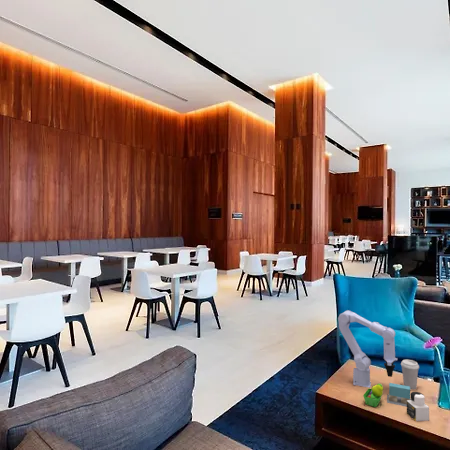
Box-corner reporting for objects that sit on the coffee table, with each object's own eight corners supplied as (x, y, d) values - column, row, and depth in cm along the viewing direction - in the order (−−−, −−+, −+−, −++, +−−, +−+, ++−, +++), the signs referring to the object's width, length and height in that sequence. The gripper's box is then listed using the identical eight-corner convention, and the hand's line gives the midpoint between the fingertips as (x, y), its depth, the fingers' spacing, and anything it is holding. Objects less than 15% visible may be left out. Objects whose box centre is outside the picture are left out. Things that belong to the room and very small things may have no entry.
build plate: (386, 403, 180) (386, 402, 180) (387, 395, 189) (387, 394, 189) (412, 408, 175) (412, 407, 175) (411, 400, 184) (411, 399, 184)
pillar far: (401, 402, 180) (401, 397, 180) (401, 399, 183) (401, 394, 183) (409, 404, 178) (409, 399, 178) (409, 401, 181) (409, 395, 181)
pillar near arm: (388, 400, 182) (388, 394, 182) (389, 397, 186) (389, 391, 186) (397, 402, 180) (397, 396, 180) (397, 398, 184) (397, 393, 184)
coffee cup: (422, 392, 192) (422, 366, 192) (404, 390, 194) (404, 365, 194) (415, 384, 202) (415, 359, 202) (398, 383, 203) (398, 358, 203)
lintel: (389, 394, 182) (389, 385, 182) (389, 391, 186) (389, 382, 186) (410, 399, 178) (410, 389, 178) (409, 395, 181) (409, 386, 181)
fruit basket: (368, 396, 187) (368, 376, 187) (385, 401, 182) (385, 381, 182) (362, 405, 178) (362, 384, 178) (380, 411, 173) (380, 389, 173)
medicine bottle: (406, 414, 170) (406, 390, 170) (419, 413, 170) (419, 389, 171) (415, 422, 163) (415, 397, 163) (429, 421, 163) (429, 396, 163)
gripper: (397, 355, 185) (397, 380, 184) (396, 347, 198) (397, 370, 197) (383, 353, 188) (383, 377, 188) (383, 345, 201) (384, 368, 201)
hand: (389, 373), depth 193 cm, fingers open, 7 cm apart
